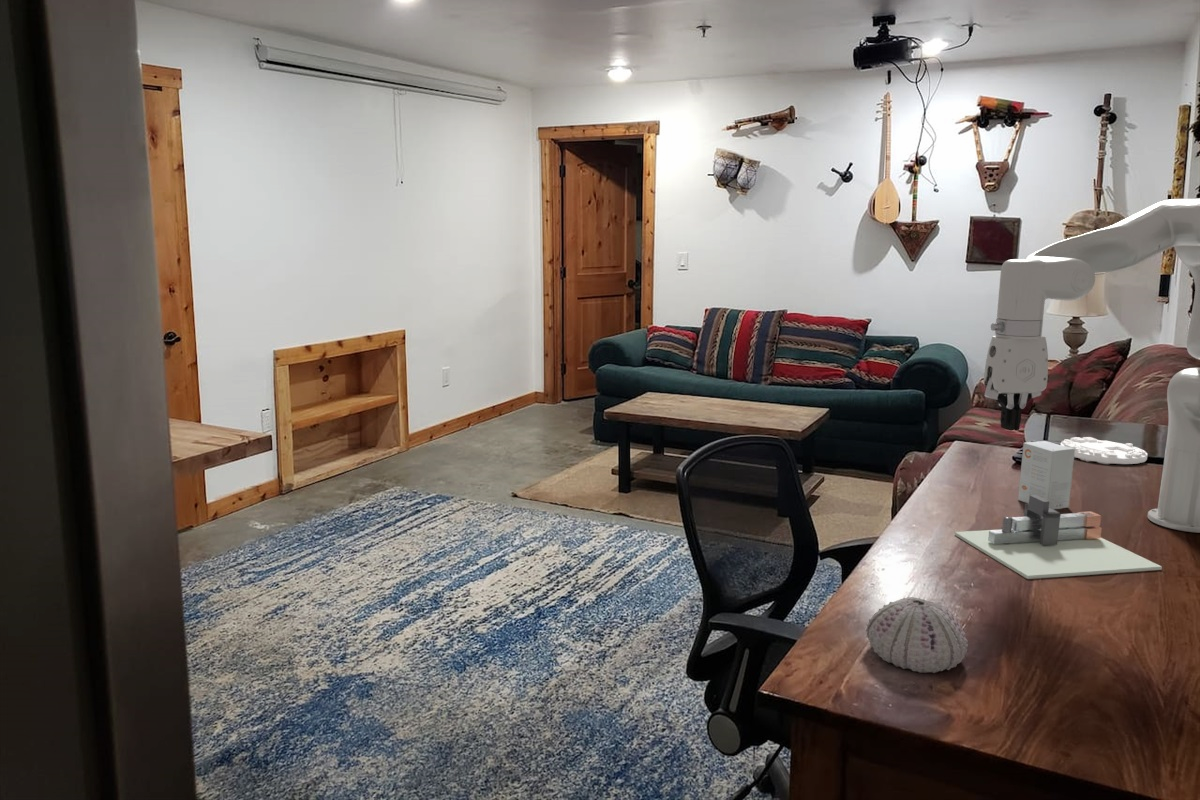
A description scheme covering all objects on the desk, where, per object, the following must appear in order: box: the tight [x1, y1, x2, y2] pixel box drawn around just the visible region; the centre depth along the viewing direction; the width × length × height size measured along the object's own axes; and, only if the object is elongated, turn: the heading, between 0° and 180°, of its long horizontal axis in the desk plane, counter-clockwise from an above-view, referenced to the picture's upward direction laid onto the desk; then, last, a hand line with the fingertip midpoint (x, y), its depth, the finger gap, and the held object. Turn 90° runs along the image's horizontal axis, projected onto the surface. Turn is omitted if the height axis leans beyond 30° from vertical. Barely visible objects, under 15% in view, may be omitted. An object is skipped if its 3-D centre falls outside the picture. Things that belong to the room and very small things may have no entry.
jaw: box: [1010, 511, 1102, 531], centre depth 167 cm, size 18×3×2 cm, turn 102°
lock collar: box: [1023, 495, 1062, 545], centre depth 166 cm, size 3×6×8 cm, turn 10°
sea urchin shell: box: [865, 596, 969, 674], centre depth 123 cm, size 13×14×8 cm
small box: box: [1017, 440, 1075, 510], centre depth 190 cm, size 8×6×13 cm
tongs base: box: [988, 516, 1103, 544], centre depth 167 cm, size 22×3×6 cm, turn 100°
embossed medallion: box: [1059, 436, 1149, 465], centre depth 233 cm, size 20×20×3 cm
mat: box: [954, 528, 1163, 580], centre depth 163 cm, size 26×22×1 cm
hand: (1009, 428), depth 162 cm, fingers closed
